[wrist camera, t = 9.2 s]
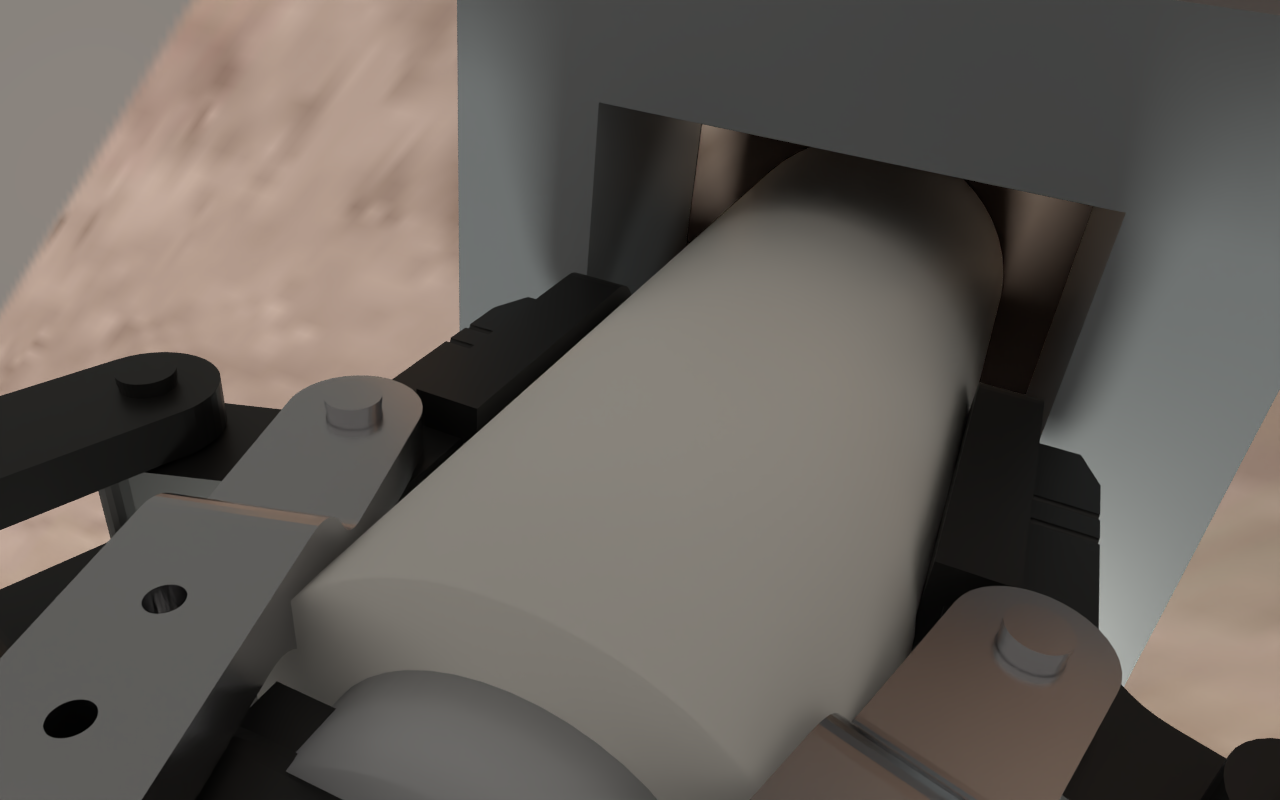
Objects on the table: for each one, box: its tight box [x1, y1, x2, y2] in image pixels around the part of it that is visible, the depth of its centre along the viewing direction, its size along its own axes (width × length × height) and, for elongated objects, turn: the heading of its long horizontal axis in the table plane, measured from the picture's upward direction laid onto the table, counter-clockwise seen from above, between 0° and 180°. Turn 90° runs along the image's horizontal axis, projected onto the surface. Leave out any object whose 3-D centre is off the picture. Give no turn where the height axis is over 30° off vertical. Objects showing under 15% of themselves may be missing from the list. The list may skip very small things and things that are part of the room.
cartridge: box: [257, 147, 1003, 800], centre depth 11 cm, size 4×4×12 cm
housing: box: [457, 0, 1280, 687], centre depth 16 cm, size 10×17×4 cm, turn 174°
